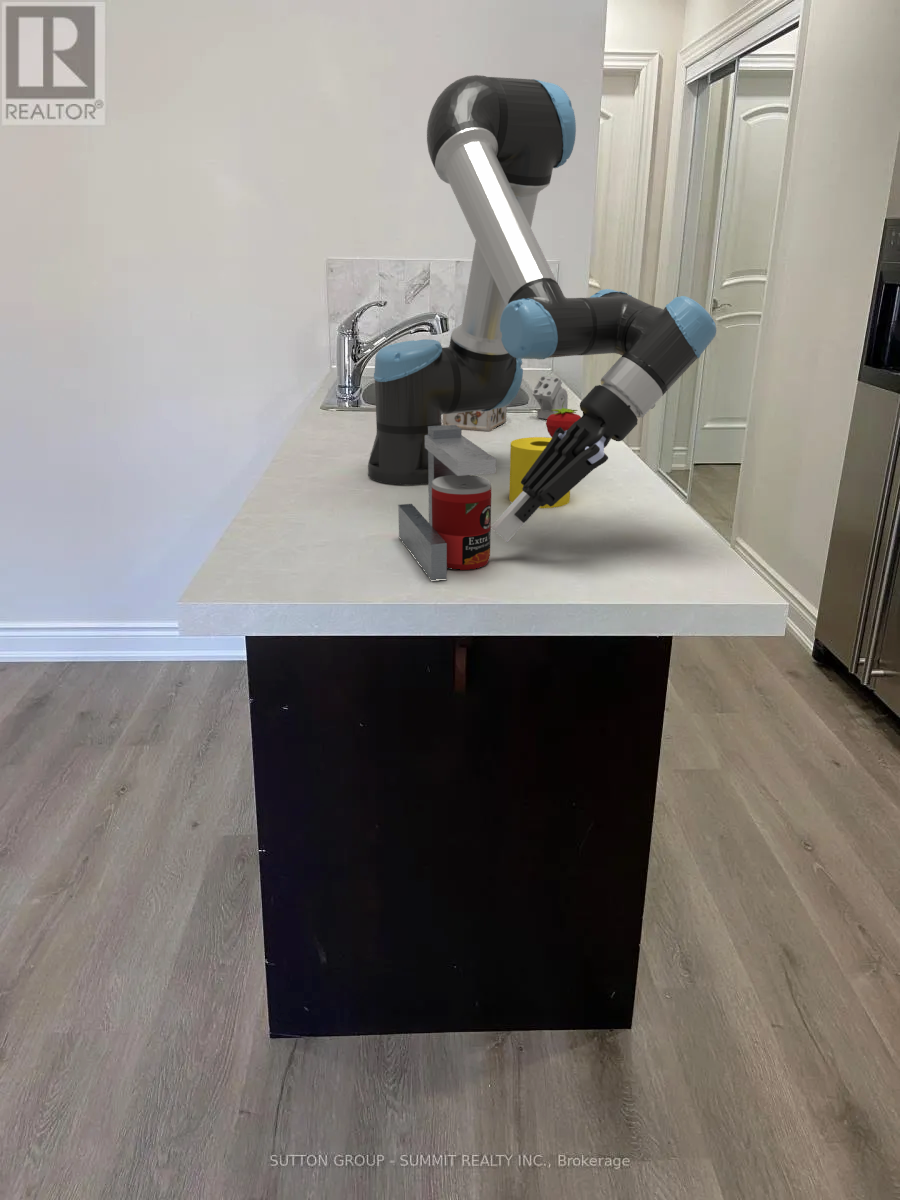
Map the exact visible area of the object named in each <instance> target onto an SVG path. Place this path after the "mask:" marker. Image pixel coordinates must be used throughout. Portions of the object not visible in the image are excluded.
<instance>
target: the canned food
mask: <svg viewBox="0 0 900 1200" xmlns="http://www.w3.org/2000/svg"><path fill="white" fill-rule="evenodd" d="M491 522H492V481H491V480H489V479H488V478H486V477H483V476H479V475H462V476H457V475H447V476H442V477H438V478H436V479H434V480H433V481H432V527H433V528H434V529H435V530H436V532H437V533H438V534H439V535H440V536H441V537H442V538H443V539H444V541H445V542H446V543H447V569H448V568H452V569H451V570H453V569H460V570H459V571H470V569H472V570H477V569H481V568H482V567H485V566H486V565H487V564H488V563H489V560H490V557H491V537H492V536H491V532H492V528H491V526H492V523H491ZM480 567H481V568H480ZM476 568H477V569H476Z"/></svg>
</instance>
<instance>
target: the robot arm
mask: <svg viewBox="0 0 900 1200" xmlns="http://www.w3.org/2000/svg"><path fill="white" fill-rule="evenodd" d="M576 123H577V122H576V115H575V109H574V108H573V105H572V101H571V99H570V96H569V95H568V94H567V92H566V91H565V90H564V89H563V88H562V87H561V86H559V85H558V84H555V83H552V82H549V81H547V82H546V81H543V80H539V79H538V80H537V79H534V78H533V79H530V78H515V77H498V76H496V77H495V76H485V75H477V74H475V75H468V76H465V77H462V78H459V79H457V80H455V81H453V82H452V83H450V84H449V85H448V86H446V88H444V90H443V91H442V92H441V93H440V94H439V96H438V97H437V98H436V100H435V102H434V103H433V105H432V107H431V111H430V113H429V117H428V120H427V127H426V144H427V151H428V154H429V157H430V160H431V163H432V165H433V167H434V170H435V172H436V174H437V176H438V177H439V179H440V180H441V181H442V182H444V183H446V184H449V186H450V187H451V190H452V192H453V194H454V196H455V199H456V201H457V202H458V205H459V207H460V209H461V212H462V214H463V216H464V217H465V220H466V222H467V224H468V227H469V228H470V231H471V234H472V235H473V238H474V239H475V243H474V249H473V255H472V261H471V266H470V273H469V278H468V284H467V290H466V297H465V303H464V308H463V313H462V319H461V324H460V325H458V326H456V327H455V328H453V330H452V331H451V334H450V341H449V344H448V346H446V347H443V346H442V344H441V342H440V341H439V340H436V339H418V340H414V339H412V340H405V341H401V342H396V343H393V344H389V345H386V346H383V347H381V348H380V349H379V350H378V351H377V353H376V354H375V356H374V357H375V358H374V373H373V379H374V392H375V393H374V394H375V418H376V421H375V422H376V423H375V424H376V432H375V433H376V435H375V439H374V442H373V445H372V448H371V452H370V455H369V459H368V462H367V463H368V464H367V473H368V474H367V475H368V477H369V479H371V480H373V481H375V482H378V483H383V484H389V485H398V486H400V485H402V486H407V485H408V486H412V485H416V486H417V485H427V484H428V485H429V481H428V450H427V449H426V448H425V435H428V426H442V416H443V414H451V413H461V412H471V411H490V410H492V409H497V408H502V407H505V406H506V405H507V406H508V405H510V404H511V403H512V402H513V401H514V400H515V398H516V397H517V396H518V393H519V391H520V389H521V385H522V383H523V382H522V381H523V374H524V369H523V368H522V364H523V359H524V360H546V359H550V358H552V359H553V358H560V357H561V358H562V357H570V356H571V357H572V356H590V355H591V356H593V355H604V354H605V355H606V354H616V355H620V357H619V358H618V360H616V361H615V363H614V364H613V365H612V366H611V367H610V368H609V369H608V371H606V372H605V373H604V375H602V377H601V379H600V384H601V385H600V384H597V385H595V386H593V388H592V389H591V390H590V391H589V392H588V393H587V394H586V396H584V398H583V399H582V400H581V401H580V403H579V408H580V410H581V411H582V416H580V417H581V418H580V419H579V420H577V421H576V422H575V423H573V424H572V426H571V427H570V428H569V429H568V430H566V431H564V430H563V429H562V428H561V427H559V428H558V429H557V430H556V431H555V433H554V435H553V437H551V438H552V439H551V441H550V442H549V443H548V445H547V446H546V448H545V449H544V450H543V452H542V453H541V454H540V456H539V457H538V458H537V460H536V461H535V463H534V464H533V465H532V467H531V468H530V469H529V471H528V472H527V474H526V475H525V476H524V478H523V479H522V480H521V484H522V485H523V488H522V490H523V491H522V493H521V494H520V495H519V496H518V497H517V498H516V499H515V500H514V501H513V502H512V503H510V505H509V506H508V507H507V508H506V509H505V510H504V511H503V513H502V514H500V515H499V516H498V518H497V519H496V520H495V521H494V522H493V524H491V530H492V531H494V532H495V533H496V534H497V535H498V536H500V537H501V538H502V540H504V541H505V542H506V543H508V542H509V541H511V539H512V538H513V537H514V535H516V534H517V532H518V531H519V530H520V529H521V528H522V527H523V525H525V524H526V522H527V521H528V520H529V519H530V518H531V517H532V516H533V515H534V513H535V512H536V511H537V510H538V509H540V508H539V507H540V506H544V505H546V504H548V505H549V506H553V505H554V504H555V503H556V502H557V501H559V500H560V499H561V498H562V497H563V496H564V495H565V494H566V493H568V492H569V491H570V492H571V490H572V489H573V488H575V486H577V485H578V484H579V483H580V482H581V481H582V480H584V478H586V477H587V476H588V475H589V474H590V473H592V472H593V471H594V470H595V469H597V468H598V467H600V466H601V465H603V464H605V463H606V462H607V461H608V459H609V456H608V455H607V453H605V452H604V451H605V448H606V447H607V446H608V445H609V443H610V441H611V440H612V441H615V442H622V441H624V440H625V438H626V437H627V436H628V435H629V434H630V433H631V432H632V431H633V429H634V428H636V426H637V425H638V418H640V419H641V418H644V416H646V414H647V413H648V412H649V411H650V410H652V409H655V407H656V403H658V401H660V399H661V398H662V396H664V395H665V394H666V392H668V390H669V389H671V387H672V386H673V385H674V384H675V383H676V382H677V380H679V379H680V377H681V376H683V374H685V372H686V371H687V370H688V369H689V368H690V366H692V364H694V363H695V361H697V360H698V359H700V357H701V355H702V354H703V353H704V351H705V350H706V349H707V348H708V347H709V345H710V344H711V343H712V341H713V340H714V338H715V337H716V335H717V325H716V322H715V321H714V319H713V317H712V316H711V314H710V312H708V311H707V309H706V308H704V306H703V305H701V304H700V303H699V302H697V301H696V300H694V299H693V298H691V297H689V296H686V295H681V296H676V297H674V298H673V299H672V300H671V301H670V302H669V303H667V304H666V305H665V307H664V308H660V307H657V306H654V305H651V304H649V303H648V302H645V301H643V300H640V299H638V298H636V297H634V296H632V295H631V294H629V293H627V292H625V291H617V290H615V289H610V288H606V289H600V290H599V291H597V292H595V293H594V294H592V295H591V296H589V297H566V296H565V295H564V293H563V291H562V289H561V286H560V285H559V283H558V282H557V279H556V277H555V275H554V273H553V271H552V270H551V269H552V268H551V267H550V265H549V263H548V261H547V259H546V257H545V255H544V252H543V251H542V248H541V246H540V244H539V242H538V240H537V238H536V236H535V233H534V232H533V229H532V224H533V219H534V215H535V209H536V205H537V199H538V196H539V195H538V194H539V193H540V192H541V191H543V190H544V189H546V188H547V187H549V186H550V183H551V178H552V174H553V169H557V168H559V167H561V166H563V165H564V164H566V163H567V160H569V159H570V157H571V155H572V153H573V150H574V146H575V142H576V135H577V134H576V132H577V124H576Z"/></svg>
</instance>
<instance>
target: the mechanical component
mask: <svg viewBox="0 0 900 1200" xmlns="http://www.w3.org/2000/svg"><path fill="white" fill-rule="evenodd" d="M562 385H563V382H562V380H561V378H560V377H554V376H545V375H542V376H540V377H539V380H538V381H537V383H536V385H535V387H534V388H533V390H532V392H531V394H532V396H533V398H534V399H535V401H536V402H537V403H538V405H539V406H540V409H538V410H537V411H536V412H537V413H536V414H537V415H536V417H537V418H539V419H546V420H547V418H548V417H549V416H550V415H551V414H555V413H557V411H552V410H555V409H562V405H563V408H565V409H568V406H569V405H568V402H569V399H568V392H567V390H566V389H565V388H563V387H562ZM564 401H565V402H564ZM563 403H564V404H563Z"/></svg>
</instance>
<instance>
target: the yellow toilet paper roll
mask: <svg viewBox="0 0 900 1200" xmlns="http://www.w3.org/2000/svg"><path fill="white" fill-rule="evenodd" d="M551 439H552V437H547V436H546V437H545V436H544V437H543V436H534V437H530V436H529V437H522V438H517V439H513V440H511V442H510V455H509V456H510V457H509V458H510V459H509V487H508V488H509V490H508V491H509V492H508V493H509V494H508V495H509V497H508V498H509V499H508V501H509V502H510V501H511V502H513V501H514V500H515V499H516V498H517V497H518V496H519V495H520V494H521V493H522V491H523V490H522V488H523V485H522V484H521V480H522V479H523V478H524V476H525V475H526V474H527V472H528V471H529V469H530V468H531V467H532V465H533V464H534V463H535V461H536V460H537V458H538V457H539V456H540V454H541V453H542V452H543V450H544V449H545V448H546V446H547V445H548V443H549V442H550V441H551ZM570 499H571V490H570V491H569V492H568V493H566V494H565V495H564V496H563V497H562V498H561V499H560V500H559V501H557V502H556V503H555V504H554V505H553V506H549V505H548V504H546V505H544V506H540V507H539V508H538V509H553V508H554V507H555V508H561V507H563V506H566V505H568V504H569V503H570V502H571V500H570ZM511 502H510V503H511ZM555 508H554V509H555Z"/></svg>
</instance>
